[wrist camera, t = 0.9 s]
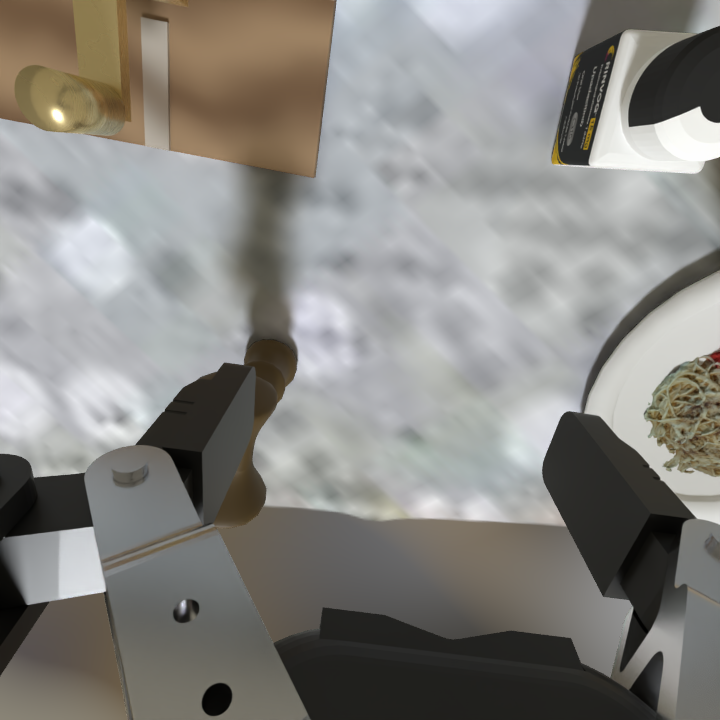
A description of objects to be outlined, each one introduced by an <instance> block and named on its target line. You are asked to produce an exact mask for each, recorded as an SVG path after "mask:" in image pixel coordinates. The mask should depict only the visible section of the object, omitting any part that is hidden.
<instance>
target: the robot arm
mask: <svg viewBox="0 0 720 720" xmlns="http://www.w3.org/2000/svg"><path fill="white" fill-rule="evenodd" d="M255 382H256V371H255V367H253V366H246V365H238V364H231V363H224V364H223V365H222V366H221V367H220V369H219V370H218V372H217V373H216V374H215V376H214V377H213V378H212V380H207V379H198V380H197V381H195V382H193V383H191V384H189V385H187V386H185V387H183V388H182V390H181V391H180V392H179V393H178V394H177V396H176V397H175V398H174V399H173V402H171V403H170V404H169V405H168V406H167V408H166V409H165V412H162V414H161V415H160V416H159V417H158V418H157V420H156V421H155V422H154V423H153V424H152V426H151V427H150V428H149V429H148V430H147V432H146V433H145V434H144V435H143V436H142V438H141V439H140V440H139V441H138V442H137V444H136V445H135V446H127V447H122V448H119V449H115V450H113V451H110V452H108V453H106V454H104V455H102V456H101V457H99V458H97V459H96V460H95V461H94V462H93V463H92V464H91V465H90V466H89V467H88V469H87V471H86V473H80V474H71V475H59V476H48V477H37V478H34V477H33V472H32V468H31V465H30V463H29V462H28V461H27V460H26V459H24V458H22V457H19V456H16V455H10V454H0V675H1V674H2V672H3V671H4V669H5V668H6V666H7V665H8V663H9V662H10V660H11V659H12V657H13V656H14V654H15V653H16V651H17V650H18V648H19V647H20V645H21V644H22V642H23V641H24V639H25V638H26V636H27V635H28V633H29V632H30V630H31V628H32V627H33V626H34V624H35V623H36V621H37V620H38V618H39V617H40V615H41V614H42V612H43V611H44V609H45V608H46V606H47V605H48V603H49V601H53V600H59V599H65V598H71V597H77V596H83V595H88V594H94V593H100V592H103V593H104V598H105V603H106V608H107V613H108V618H109V624H110V629H111V633H112V639H113V644H114V649H115V654H116V659H117V665H118V670H119V675H120V679H121V685H122V691H123V696H124V702H125V707H126V713H127V718H128V720H720V525H719V524H717V523H714V522H711V521H707V520H702V519H697V518H696V517H695V516H694V515H693V514H692V512H691V511H690V510H689V509H688V508H687V507H686V506H685V505H684V503H683V502H682V501H681V500H680V499H679V498H678V497H677V496H676V494H675V493H674V492H673V491H672V490H671V489H670V488H669V487H668V485H667V484H666V483H665V482H664V481H661V480H660V476H659V475H658V474H657V473H656V472H655V471H654V470H653V469H652V468H650V467H649V466H650V465H649V464H648V463H647V462H646V461H645V460H644V458H643V457H642V456H641V455H640V454H639V453H638V452H637V451H636V450H635V449H633V448H632V447H631V446H629V445H628V444H626V443H625V442H624V441H622V440H621V439H619V438H618V436H617V435H616V434H615V433H614V432H613V431H612V430H611V428H610V427H609V426H608V425H607V424H606V423H605V421H604V420H603V419H602V418H601V417H600V416H597V415H591V414H584V413H577V412H570V411H569V412H566V413H564V414H563V415H562V417H561V419H560V421H559V423H558V426H557V428H556V431H555V433H554V436H553V438H552V441H551V443H550V446H549V448H548V451H547V453H546V456H545V458H544V461H543V468H542V474H543V480H544V483H545V485H546V487H547V489H548V491H549V493H550V495H551V497H552V499H553V501H554V503H555V505H556V506H557V508H558V510H559V512H560V514H561V516H562V518H563V520H564V522H565V524H566V526H567V528H568V530H569V532H570V534H571V535H572V537H573V539H574V541H575V543H576V545H577V547H578V549H579V551H580V553H581V555H582V557H583V558H584V561H585V562H586V564H587V566H588V568H589V570H590V572H591V574H592V576H593V578H594V580H595V582H596V583H597V586H598V588H599V589H600V592H601V593H602V595H603V597H610V598H618V599H626V600H630V602H631V604H632V607H631V608H630V610H629V612H628V613H627V615H626V617H625V620H624V625H623V629H622V633H621V637H620V641H619V645H618V649H617V653H616V657H615V661H614V665H613V669H612V673H611V677H610V678H609V677H607V676H606V675H604V674H602V673H600V672H598V671H597V670H595V669H593V668H590V667H589V666H587V665H584V664H582V663H581V662H580V660H579V657H578V655H577V652H576V650H575V647H574V645H573V642H572V640H571V638H565V637H557V636H549V635H541V634H532V633H524V632H517V631H506V632H500V633H494V634H487V635H481V636H475V637H469V638H463V639H454V640H452V639H446V638H443V637H440V636H438V635H435V634H433V633H430V632H427V631H425V630H422V629H419V628H417V627H414V626H411V625H409V624H406V623H404V622H401V621H399V620H396V619H393V618H391V617H388V616H386V615H379V614H371V613H363V612H355V611H347V610H339V609H331V608H323V610H322V616H321V623H320V629H314V630H308V631H304V632H301V633H298V634H294V635H291V636H288V637H286V638H284V639H282V640H279V641H277V642H275V643H273V642H272V640H271V638H270V636H269V634H268V632H267V630H266V628H265V626H264V624H263V622H262V620H261V617H260V615H259V613H258V611H257V609H256V607H255V605H254V603H253V601H252V599H251V597H250V595H249V593H248V591H247V589H246V587H245V585H244V583H243V581H242V579H241V577H240V575H239V572H238V571H237V568H236V566H235V564H234V562H233V560H232V558H231V556H230V554H229V552H228V550H227V548H226V546H225V544H224V542H223V540H222V538H221V536H220V534H219V532H218V530H217V528H216V527H215V526H214V524H213V523H214V521H215V518H216V516H217V514H218V512H219V509H220V507H221V505H222V503H223V500H224V498H225V496H226V494H227V491H228V489H229V487H230V484H231V482H232V480H233V478H234V475H235V473H236V471H237V469H238V466H239V464H240V462H241V460H242V457H243V455H244V453H245V451H246V448H247V446H248V444H249V441H250V438H251V434H252V430H253V423H254V406H255Z"/></svg>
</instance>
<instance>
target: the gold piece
mask: <svg viewBox="0 0 720 720" xmlns="http://www.w3.org/2000/svg"><path fill="white" fill-rule="evenodd" d="M155 1H160V2H164V3H169V4H174V5H179V6H184V7H188V0H155ZM73 12H74V23H75V34H76V46H77V57H78V68H79V76H77V75H73V74H69V73H66V72H62V71H58V70H55V69H51V68H47V67H44V66H40V65H30V66H27V67H25V68H23V69H22V70H21V71H20V72H19V73H18V75H17V77H16V80H15V85H14V92H15V98H16V101H17V104H18V106H19V108H20V110H21V111H22V113H23V114H24V116H25V117H26V118H27V119H28V120H29V121H30V122H31V123H32V124H34V125H35V126H36V127H38V128H40V129H43V130H46V131H52V132H65V133H78V134H91V135H104V136H111V135H115V134H117V133H118V132H120V131H121V129H122V128H123V126H124V124H125V121H128V122H132V121H131V100H130V78H129V57H128V35H127V14H126V0H73Z"/></svg>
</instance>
